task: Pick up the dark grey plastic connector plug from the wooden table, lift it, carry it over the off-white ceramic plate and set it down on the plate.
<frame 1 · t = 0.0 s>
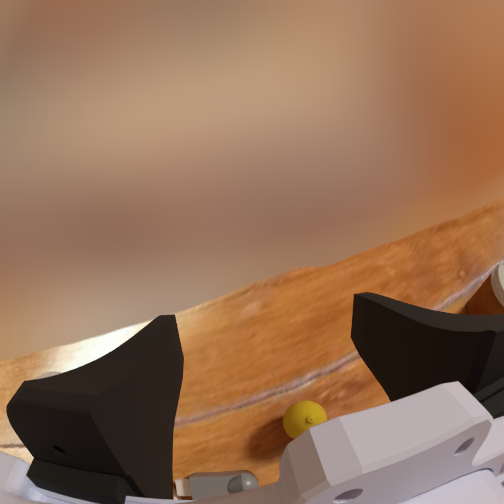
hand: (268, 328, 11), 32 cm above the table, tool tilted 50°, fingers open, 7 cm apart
disposable coffee cup: (476, 312, 45), on the table
lemon: (299, 422, 37), on the table
connector: (219, 483, 31), on the table
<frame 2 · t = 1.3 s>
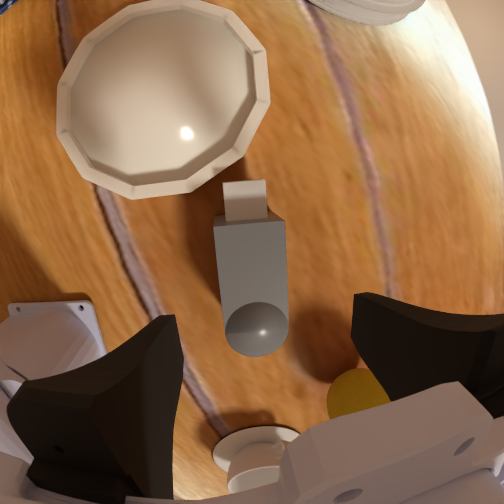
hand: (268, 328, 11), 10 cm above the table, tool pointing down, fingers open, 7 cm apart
plate: (159, 93, 17), on the table
teacup: (259, 450, 27), on the table
lemon: (344, 375, 25), on the table
connector: (246, 259, 21), on the table
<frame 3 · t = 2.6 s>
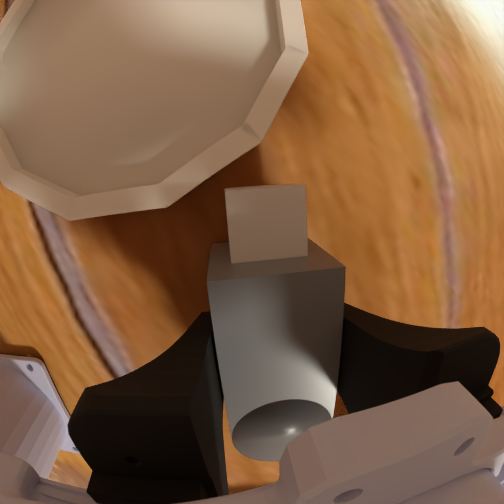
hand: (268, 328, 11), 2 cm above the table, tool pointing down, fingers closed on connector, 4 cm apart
plate: (124, 48, 9), on the table
connector: (263, 310, 13), on the table, touching gripper
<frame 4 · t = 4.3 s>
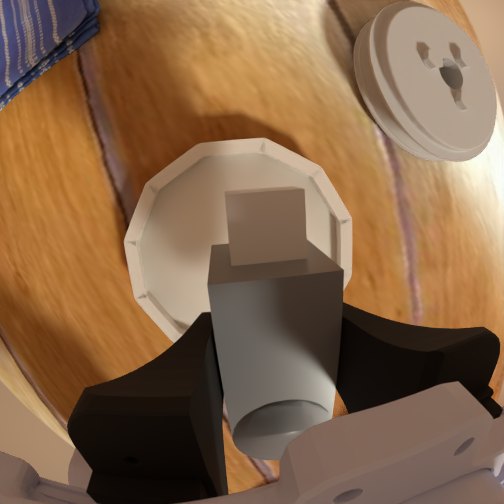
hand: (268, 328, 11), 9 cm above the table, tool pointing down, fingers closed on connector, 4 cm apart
plate: (240, 251, 20), on the table
lid: (416, 85, 18), on the table
connector: (263, 311, 13), point 7 cm above the table, touching gripper
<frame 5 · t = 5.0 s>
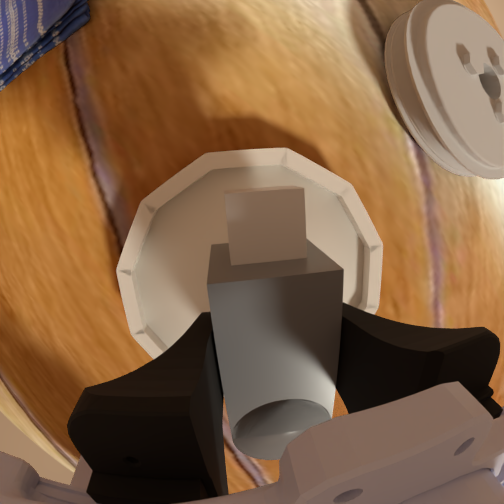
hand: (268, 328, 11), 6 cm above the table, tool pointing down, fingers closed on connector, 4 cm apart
plate: (252, 279, 17), on the table
lid: (447, 91, 16), on the table
connector: (262, 310, 13), point 4 cm above the table, touching gripper
when the fingers open (4 cm above the table, at t = 5.7 s): connector stays where it is, resting on plate.
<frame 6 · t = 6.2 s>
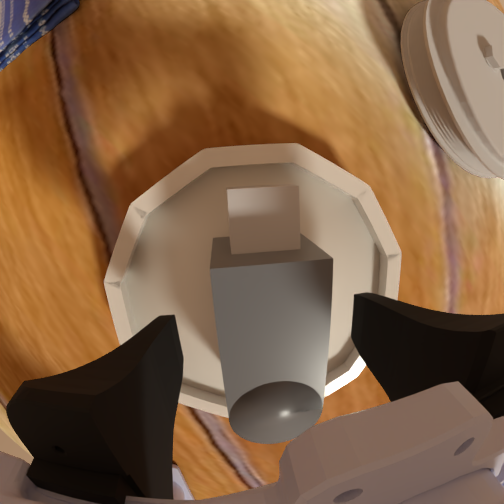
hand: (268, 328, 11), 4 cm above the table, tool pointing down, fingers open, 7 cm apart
plate: (257, 291, 15), on the table
lid: (464, 86, 14), on the table
connector: (259, 301, 14), point 1 cm above the table, touching plate
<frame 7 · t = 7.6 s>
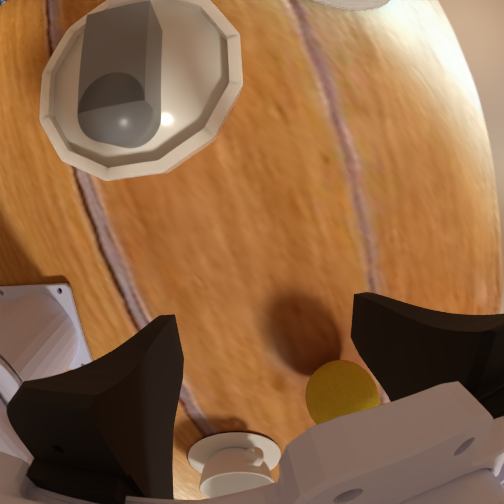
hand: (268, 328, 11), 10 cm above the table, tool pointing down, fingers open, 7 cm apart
plate: (138, 79, 17), on the table
teacup: (234, 454, 27), on the table
lemon: (326, 367, 25), on the table
connector: (133, 75, 16), point 1 cm above the table, touching plate
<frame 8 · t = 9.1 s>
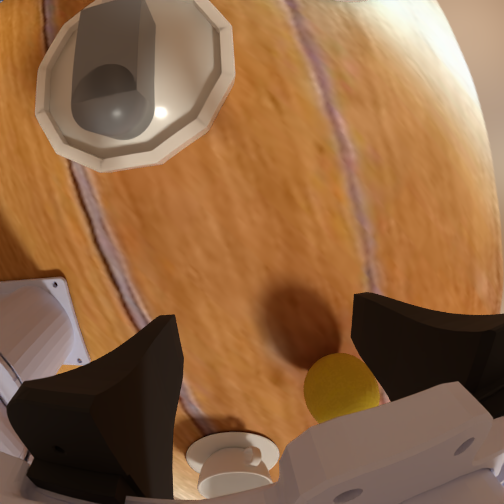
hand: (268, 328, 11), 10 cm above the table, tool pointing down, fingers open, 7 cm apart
plate: (132, 73, 17), on the table
teacup: (232, 454, 27), on the table
lemon: (324, 361, 24), on the table
connector: (127, 68, 16), point 1 cm above the table, touching plate
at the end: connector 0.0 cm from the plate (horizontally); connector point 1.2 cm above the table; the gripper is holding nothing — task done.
